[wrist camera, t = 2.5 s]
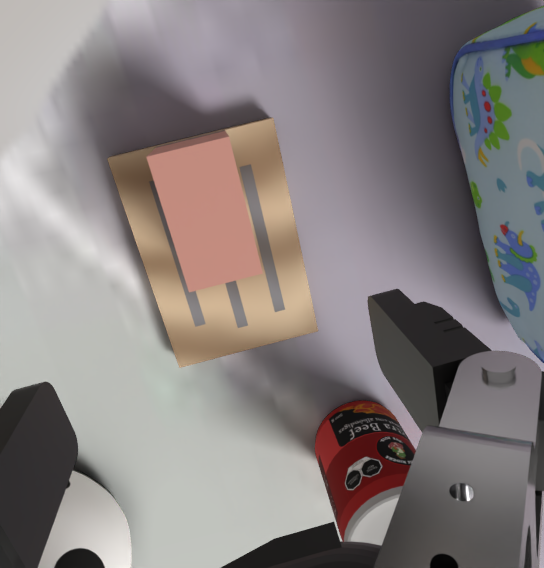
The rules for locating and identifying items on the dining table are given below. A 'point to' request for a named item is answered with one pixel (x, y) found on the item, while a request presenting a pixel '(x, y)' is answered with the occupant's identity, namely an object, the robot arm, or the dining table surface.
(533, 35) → the lunch box
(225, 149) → the block
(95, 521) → the milk container
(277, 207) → the board
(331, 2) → the dining table surface
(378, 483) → the canned food
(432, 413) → the robot arm
